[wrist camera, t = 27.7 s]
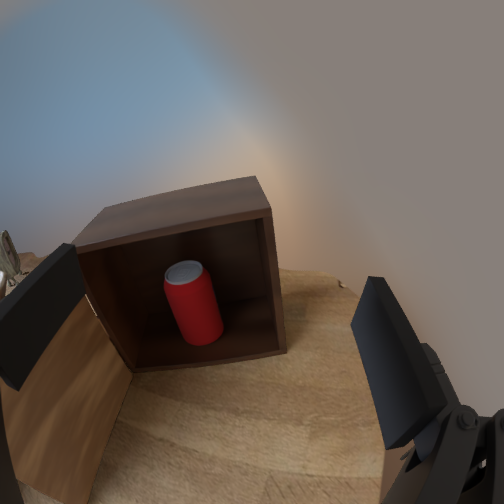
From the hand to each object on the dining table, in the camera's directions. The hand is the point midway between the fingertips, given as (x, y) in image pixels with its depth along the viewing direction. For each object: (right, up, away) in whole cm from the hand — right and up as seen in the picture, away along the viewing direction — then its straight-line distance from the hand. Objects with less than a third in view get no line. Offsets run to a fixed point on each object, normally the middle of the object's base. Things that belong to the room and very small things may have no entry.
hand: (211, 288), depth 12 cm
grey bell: (-80, -10, +59) cm, 99 cm away
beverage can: (-6, -12, +32) cm, 34 cm away
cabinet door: (-20, -24, +16) cm, 35 cm away
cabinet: (-6, -12, +33) cm, 36 cm away
